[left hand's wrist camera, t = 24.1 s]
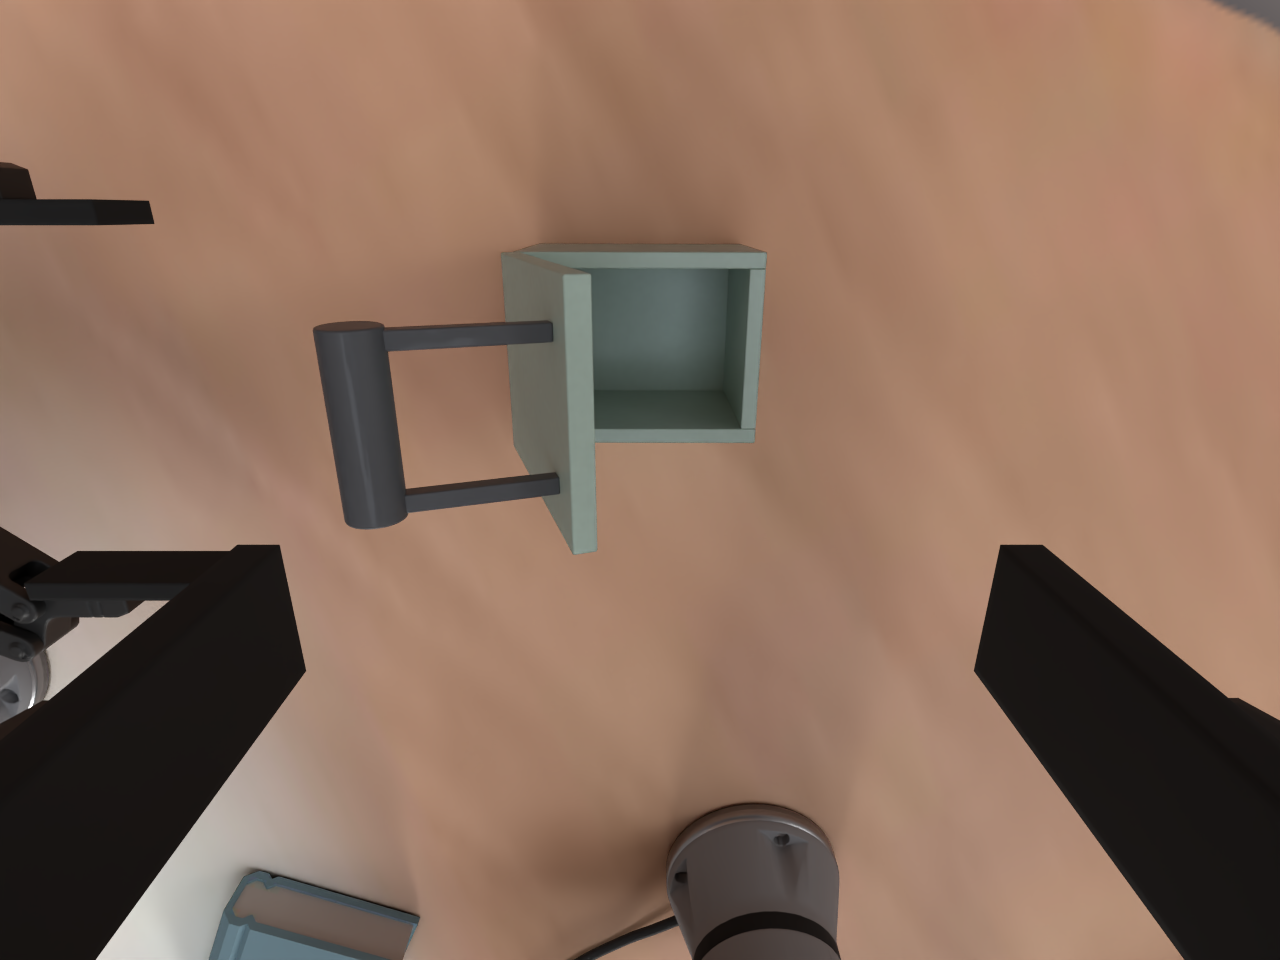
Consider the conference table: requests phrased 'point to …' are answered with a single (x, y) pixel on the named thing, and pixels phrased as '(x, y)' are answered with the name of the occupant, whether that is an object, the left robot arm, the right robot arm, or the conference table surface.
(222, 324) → the conference table surface
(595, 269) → the chest
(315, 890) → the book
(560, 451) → the lid
